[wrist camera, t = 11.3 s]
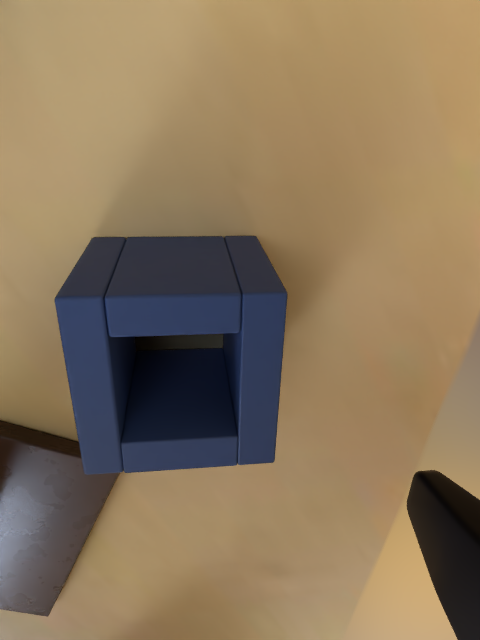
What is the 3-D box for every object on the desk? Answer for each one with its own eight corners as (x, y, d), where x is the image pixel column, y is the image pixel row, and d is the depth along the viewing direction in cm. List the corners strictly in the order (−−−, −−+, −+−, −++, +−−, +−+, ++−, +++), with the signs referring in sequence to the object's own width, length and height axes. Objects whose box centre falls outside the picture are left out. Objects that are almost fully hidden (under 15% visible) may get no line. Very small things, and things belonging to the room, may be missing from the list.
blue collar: (109, 376, 17) (83, 476, 12) (91, 236, 15) (52, 297, 10) (250, 370, 18) (274, 463, 13) (256, 235, 15) (288, 292, 11)
